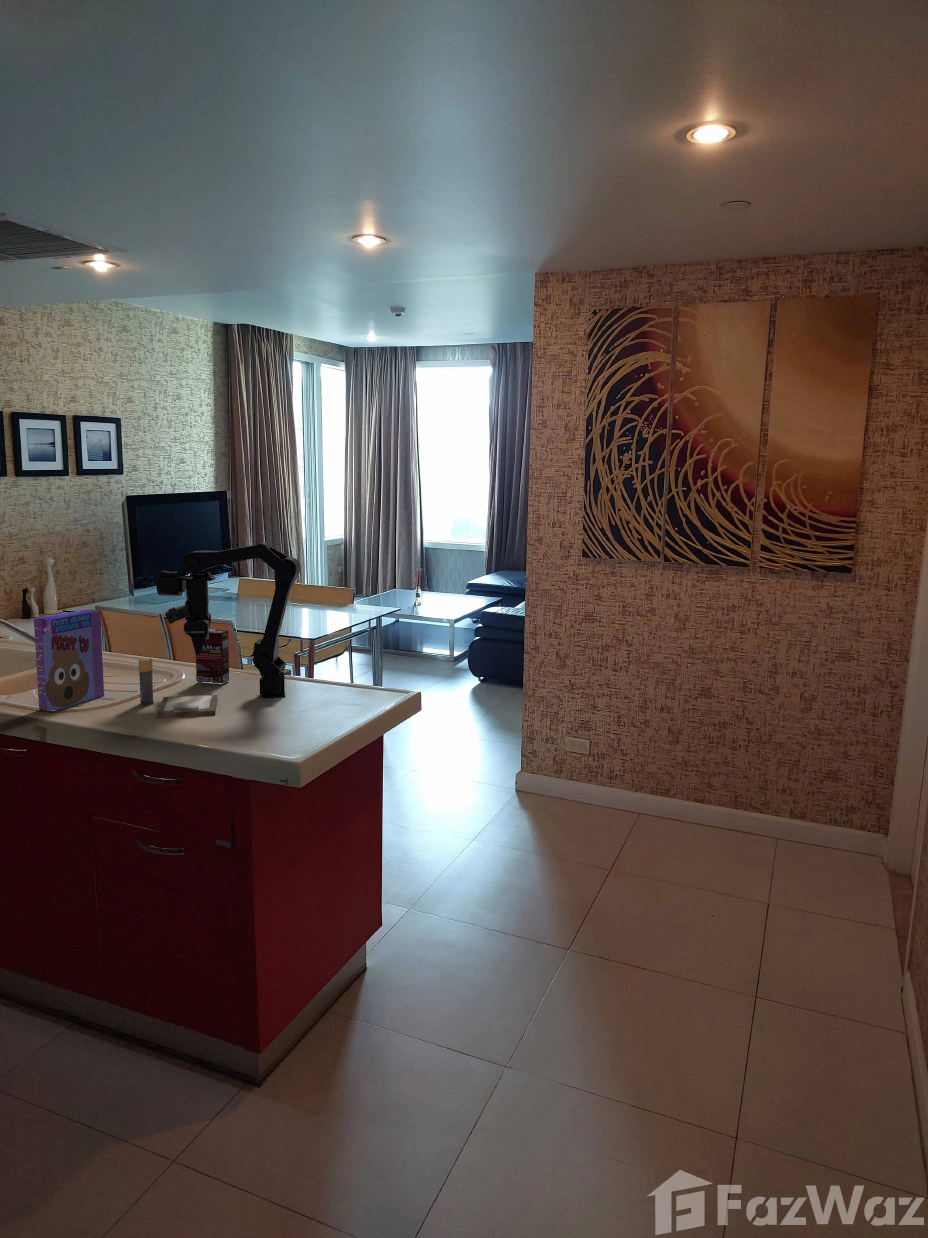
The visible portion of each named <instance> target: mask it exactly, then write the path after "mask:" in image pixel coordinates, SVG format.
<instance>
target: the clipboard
mask: <svg viewBox="0 0 928 1238" xmlns="http://www.w3.org/2000/svg"><path fill="white" fill-rule="evenodd" d="M217 698H218V694H200V695H174V696H163V697H162V700H161V702H160V705H159V706H158V707H159V708H158V710H157V712H156V717H158V718H176V717H177V716H181V717H197V716H198V717H199V716H200V717H201V716H202V715H204V716H216V712H217V705H218V704H217V703H218V699H217ZM177 718H178V717H177Z"/></svg>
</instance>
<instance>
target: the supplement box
mask: <svg viewBox="0 0 928 1238" xmlns="http://www.w3.org/2000/svg"><path fill="white" fill-rule="evenodd" d="M229 634H230V633H229V630H228V629H225V630H224V629H216V628H215V629H211V628H209V631H208V634H207V637H206V640H205V642H204V645H203V648H202V650H201V653H200V655H196V654H195V672H196V673H195V675H196V676H195V677H196V678H195V680H196V681H197V682H212V683H222V684H223V683H225V682H227V681H229V682H230V644H229V643H230V639H229V637H230V636H229ZM196 681H195V682H196Z"/></svg>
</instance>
